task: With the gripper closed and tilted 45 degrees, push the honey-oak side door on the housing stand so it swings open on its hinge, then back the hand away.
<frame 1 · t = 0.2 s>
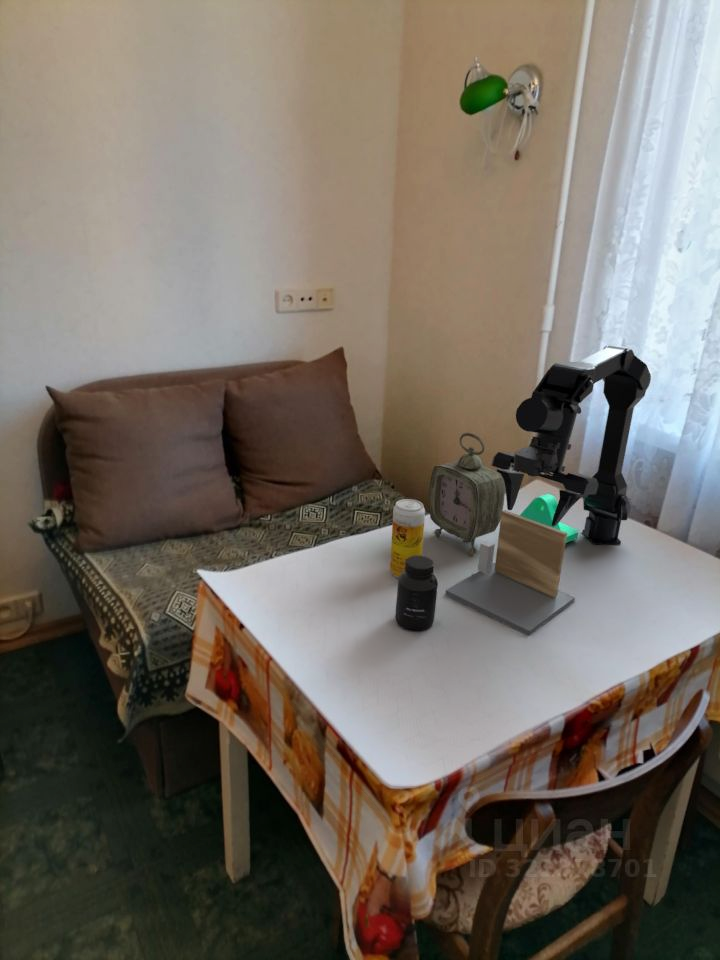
hand: (531, 517, 122), 16 cm above the table, tool tilted 15°, fingers open, 9 cm apart
supplement bottle: (414, 622, 117), on the table
housing stand: (523, 588, 129), on the table
tabletop clock: (463, 543, 146), on the table
door: (529, 553, 126), point 8 cm above the table, hinge at 0.0°
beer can: (405, 574, 133), on the table
camera mount: (546, 536, 151), on the table
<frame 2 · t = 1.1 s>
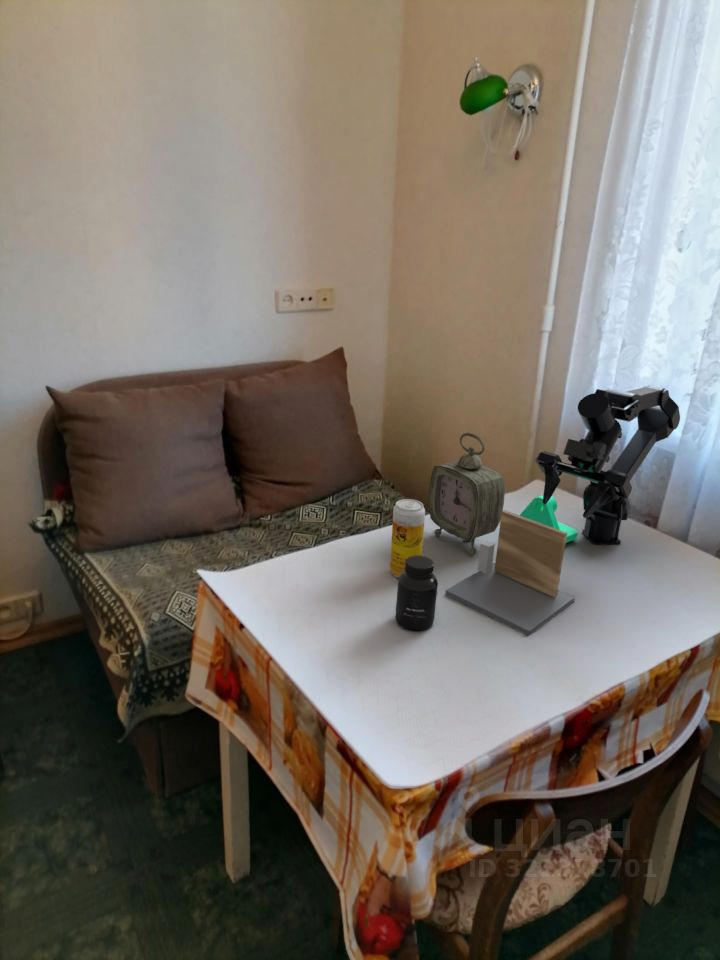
hand: (563, 510, 132), 13 cm above the table, tool tilted 45°, fingers open, 8 cm apart
nothing on the table moved.
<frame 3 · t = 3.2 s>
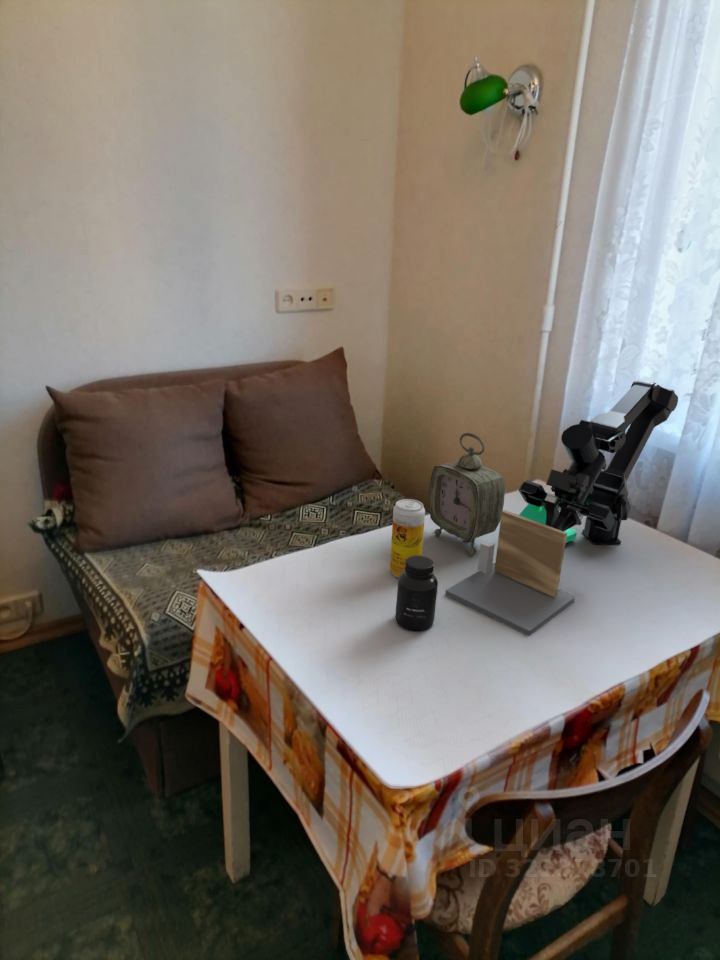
hand: (545, 541, 130), 8 cm above the table, tool tilted 45°, fingers closed
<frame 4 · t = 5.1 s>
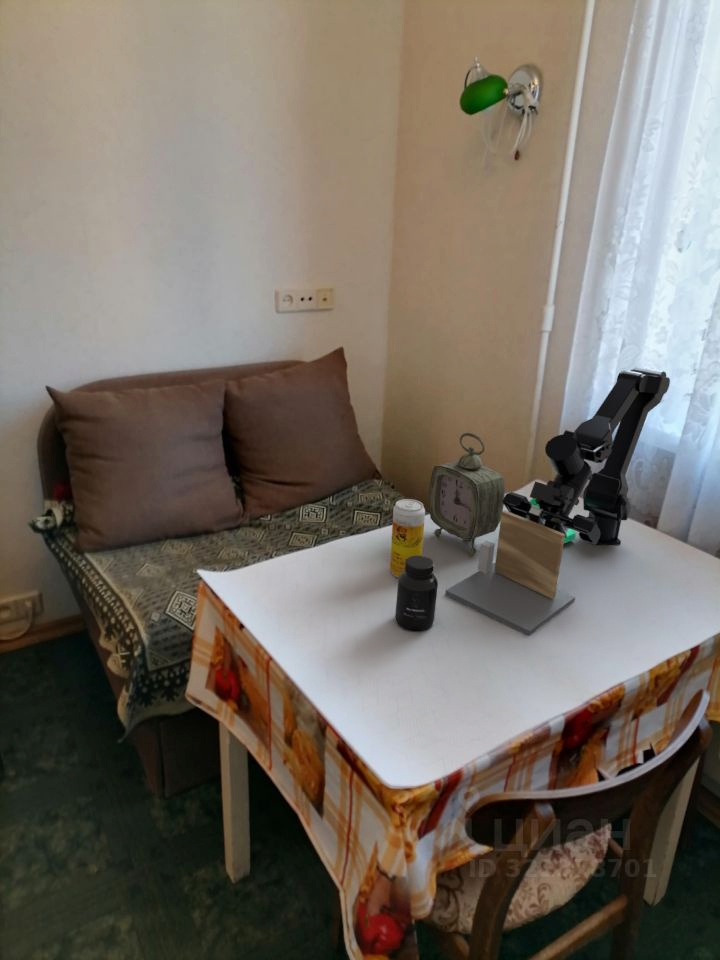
hand: (529, 554, 126), 7 cm above the table, tool tilted 45°, fingers closed, pressing on door
door: (527, 553, 126), point 8 cm above the table, hinge at 3.5°, touching gripper
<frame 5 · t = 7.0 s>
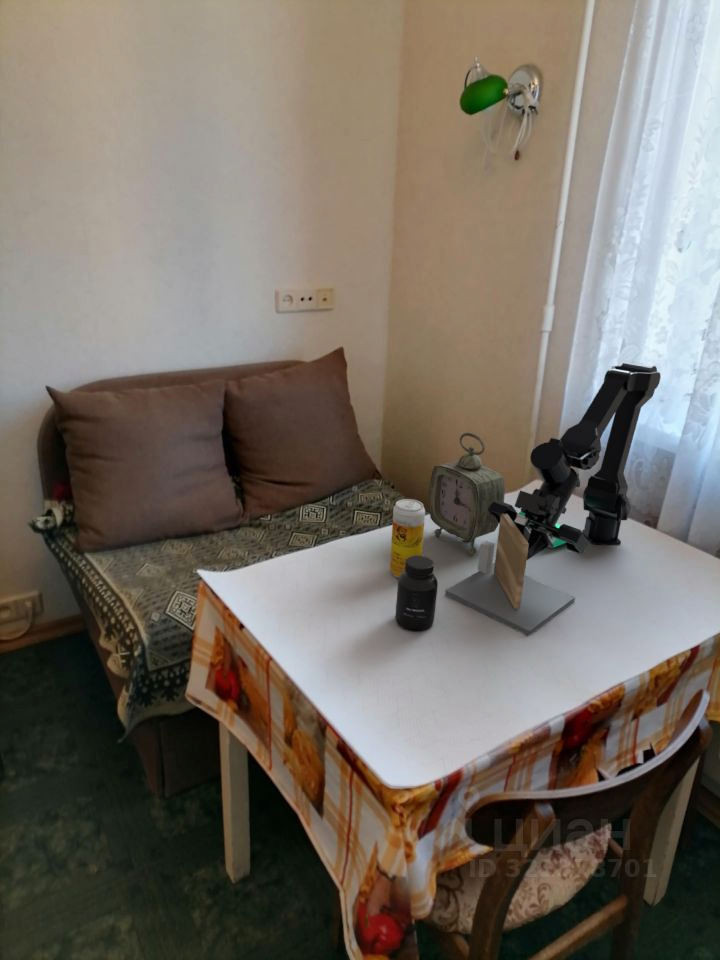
hand: (515, 565, 123), 7 cm above the table, tool tilted 45°, fingers closed
door: (510, 558, 123), point 8 cm above the table, hinge at 40.1°, touching gripper
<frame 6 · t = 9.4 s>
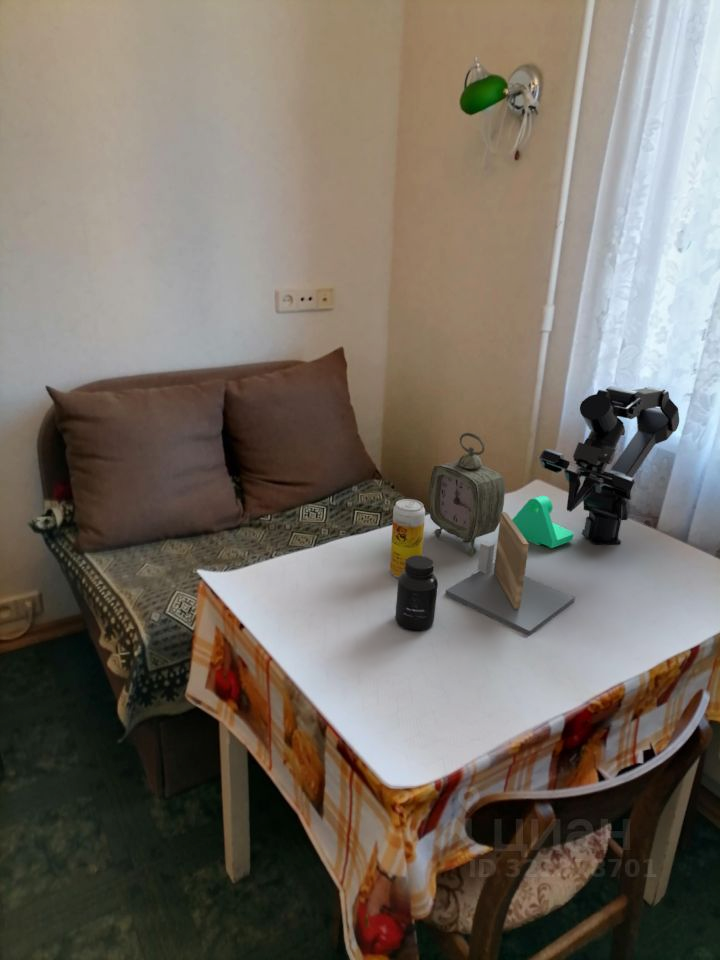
hand: (568, 510, 133), 13 cm above the table, tool tilted 40°, fingers closed
door: (510, 558, 123), point 8 cm above the table, hinge at 40.1°
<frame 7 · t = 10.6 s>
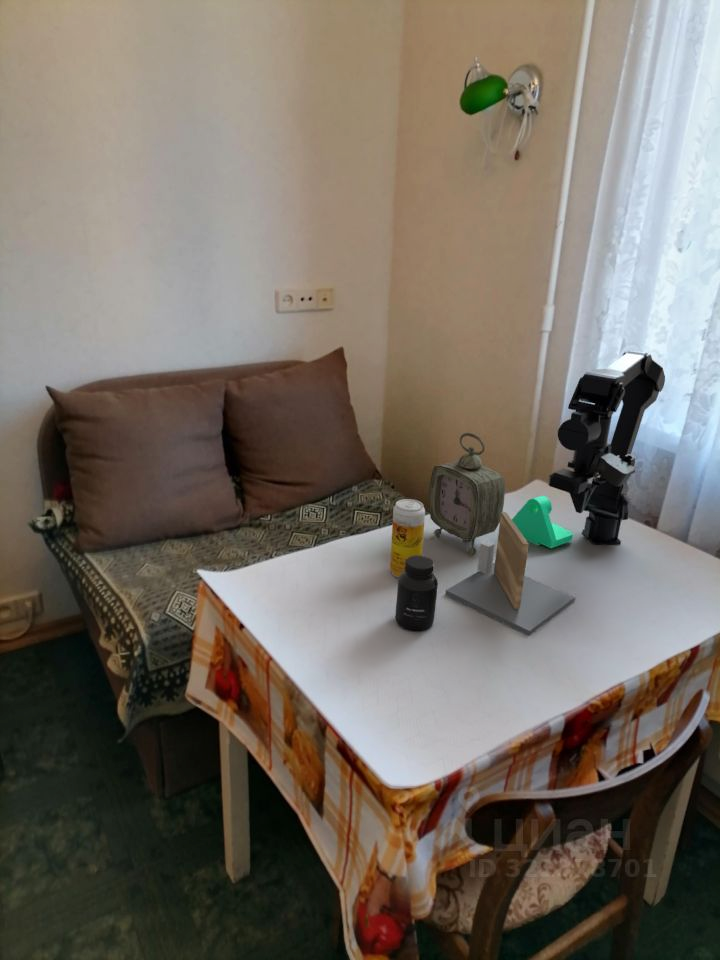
hand: (579, 512, 134), 12 cm above the table, tool pointing down, fingers closed
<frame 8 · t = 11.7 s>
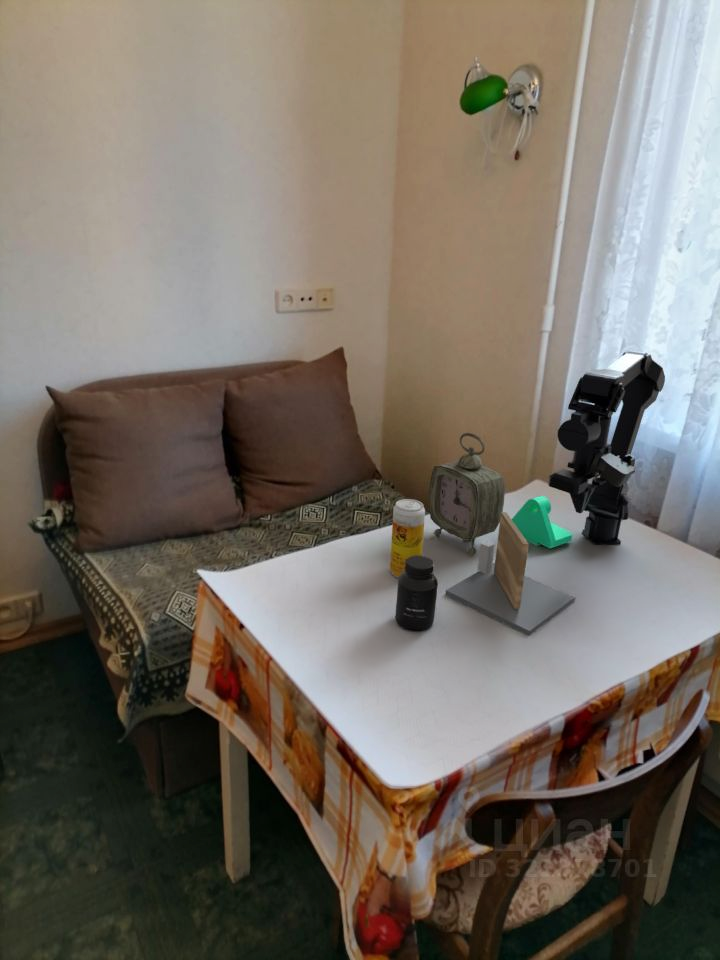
hand: (579, 512, 134), 12 cm above the table, tool pointing down, fingers closed
at the end: door at +40° (first picture: +0°) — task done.
